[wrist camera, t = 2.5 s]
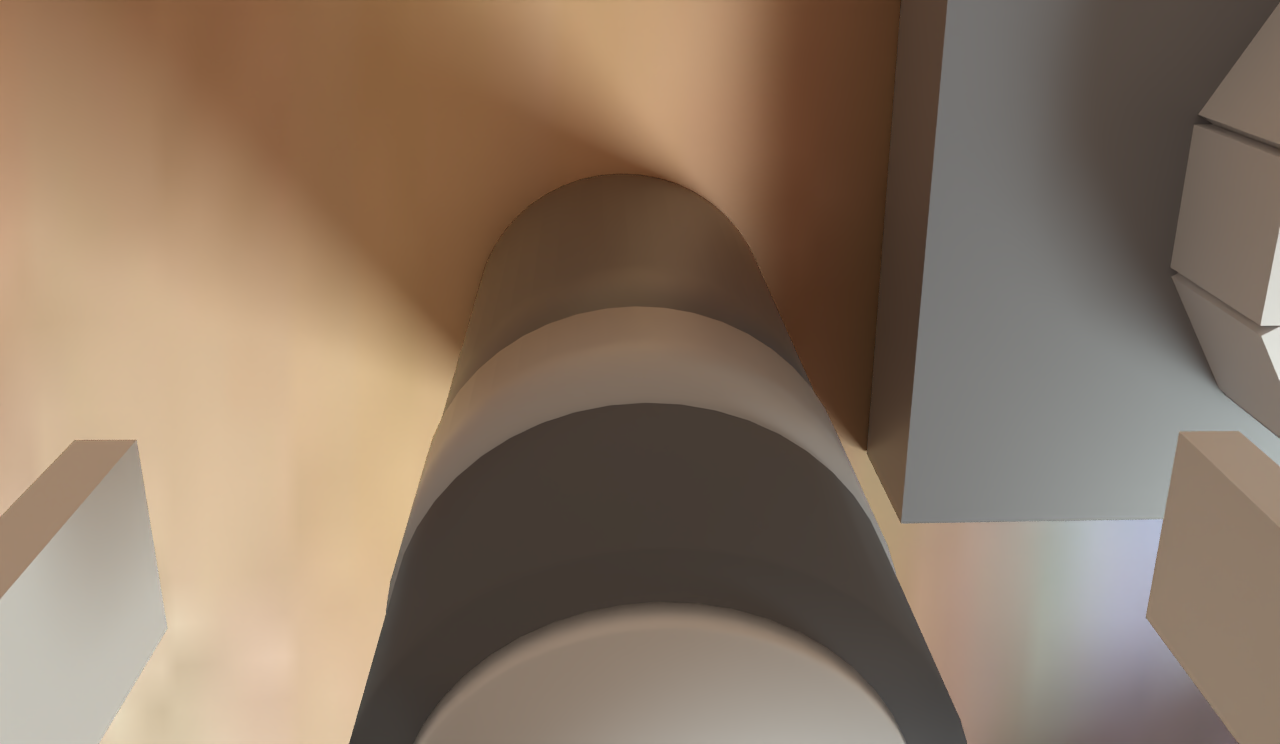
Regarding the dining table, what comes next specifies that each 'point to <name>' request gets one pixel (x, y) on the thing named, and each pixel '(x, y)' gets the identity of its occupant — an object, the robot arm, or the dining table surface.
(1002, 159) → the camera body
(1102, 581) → the dining table surface
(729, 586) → the lens
